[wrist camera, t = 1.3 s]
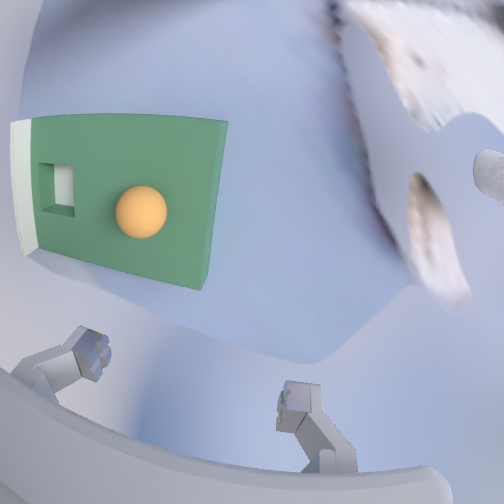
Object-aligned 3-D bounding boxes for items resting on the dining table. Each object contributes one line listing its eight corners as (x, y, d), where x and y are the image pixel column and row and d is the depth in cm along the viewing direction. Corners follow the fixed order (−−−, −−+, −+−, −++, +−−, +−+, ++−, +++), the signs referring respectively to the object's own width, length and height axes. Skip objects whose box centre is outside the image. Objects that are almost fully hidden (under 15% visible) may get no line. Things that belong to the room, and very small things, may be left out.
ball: (131, 177, 27) (105, 190, 22) (176, 183, 27) (155, 197, 22) (130, 222, 29) (106, 241, 25) (172, 231, 29) (153, 252, 24)
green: (44, 116, 28) (10, 122, 22) (228, 121, 27) (212, 121, 21) (48, 236, 36) (21, 255, 30) (207, 274, 35) (192, 306, 29)
